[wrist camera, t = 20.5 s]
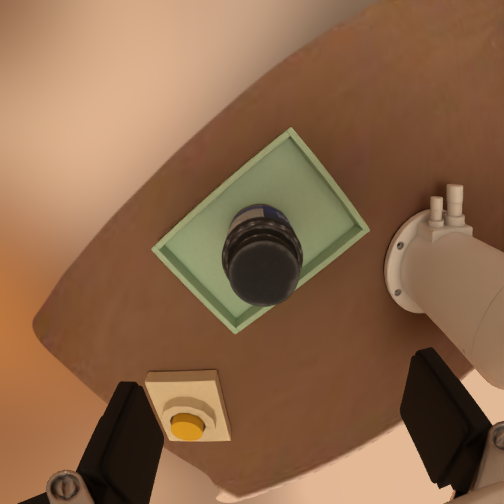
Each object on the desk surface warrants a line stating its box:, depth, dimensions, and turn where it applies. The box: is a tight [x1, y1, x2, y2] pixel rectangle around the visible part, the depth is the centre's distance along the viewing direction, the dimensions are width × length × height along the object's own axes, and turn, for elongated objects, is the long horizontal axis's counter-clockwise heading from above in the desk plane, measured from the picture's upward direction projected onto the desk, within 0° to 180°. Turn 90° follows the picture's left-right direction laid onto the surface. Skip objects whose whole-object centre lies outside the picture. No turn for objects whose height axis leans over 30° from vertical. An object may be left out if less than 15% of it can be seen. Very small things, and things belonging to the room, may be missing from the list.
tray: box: [151, 127, 370, 334], centre depth 31 cm, size 17×12×3 cm
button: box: [171, 413, 204, 441], centre depth 35 cm, size 4×4×2 cm
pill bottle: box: [221, 204, 303, 307], centre depth 26 cm, size 6×6×11 cm
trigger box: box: [145, 370, 231, 441], centre depth 37 cm, size 12×9×4 cm
